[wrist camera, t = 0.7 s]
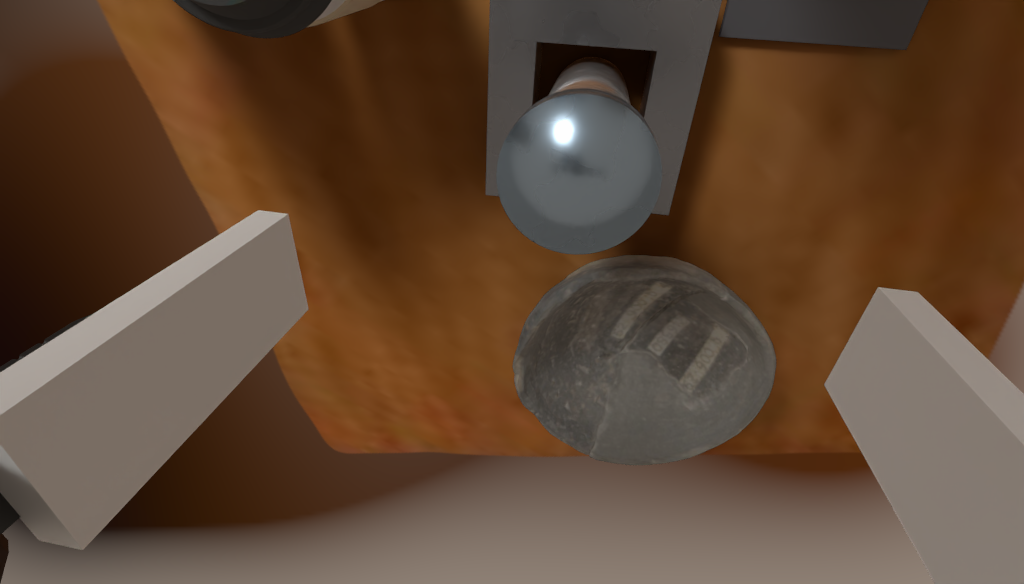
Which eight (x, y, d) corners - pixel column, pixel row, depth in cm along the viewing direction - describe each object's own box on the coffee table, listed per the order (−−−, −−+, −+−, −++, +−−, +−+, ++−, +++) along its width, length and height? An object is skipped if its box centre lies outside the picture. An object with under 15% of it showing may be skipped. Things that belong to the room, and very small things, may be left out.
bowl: (679, 423, 45) (692, 499, 38) (501, 361, 44) (483, 427, 38) (798, 268, 35) (844, 334, 28) (571, 186, 34) (563, 234, 28)
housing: (502, -18, 28) (490, -19, 25) (710, -5, 27) (723, -5, 24) (495, 177, 35) (485, 194, 32) (663, 195, 34) (668, 215, 31)
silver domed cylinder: (547, 42, 30) (499, 86, 16) (645, 49, 29) (680, 102, 16) (539, 139, 33) (494, 244, 19) (627, 148, 32) (643, 263, 19)
